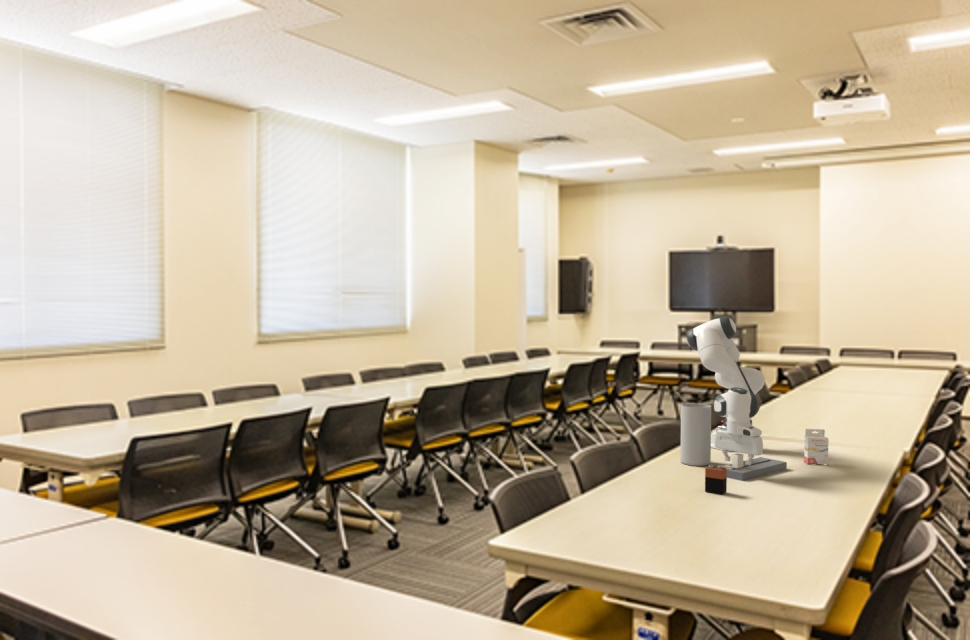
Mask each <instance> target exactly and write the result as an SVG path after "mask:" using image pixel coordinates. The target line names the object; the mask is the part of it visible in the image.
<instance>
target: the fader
mask: <svg viewBox="0 0 970 640" xmlns="http://www.w3.org/2000/svg"><path fill="white" fill-rule="evenodd" d="M731 457H732V459H731V464H732V467H734V468H735V469H739V468H740V467H743V461H744V453H740V452H737V453H733V454H732V456H731Z"/></svg>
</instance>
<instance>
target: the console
mask: <svg viewBox="0 0 970 640" xmlns="http://www.w3.org/2000/svg"><path fill="white" fill-rule="evenodd" d="M745 461H746V460H743V467H740V468H739V469H735V468H734V467H732V463H729V464H724V465H722V466H723V468H726V469H727V479H733V480H738V481H741V482H742V481H746V480H750V479H754V478H758V476H759V477H762V476H766V475H770V474H774V473H778V472H781V470H782V471H785V470H784V469H786V470H787V468H788V467H787V466H788V463H787V462H786V461H782V460H777V459H773V458H768V457H767V458H766V457H763V456H760V457H756V458H755V457H754V458H753V459H752V461H751V465H746V464H745V463H746V462H745ZM777 471H778V472H777ZM773 472H774V473H773ZM769 473H770V474H769Z"/></svg>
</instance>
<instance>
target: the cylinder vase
mask: <svg viewBox="0 0 970 640" xmlns="http://www.w3.org/2000/svg"><path fill="white" fill-rule="evenodd" d="M680 405H681V406H680V463H682V464H684V465H687V466H691V467H692V466H693V467H694V466H695V467H704V466H705V467H707V466H709V465H711V463H712V462H711V461H712V460H711V458H712V457H711V455H712V453H711V449H712V447H711V435H712V405H710V404H706V403H689V402H688V403H682V404H680Z"/></svg>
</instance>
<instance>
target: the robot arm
mask: <svg viewBox="0 0 970 640" xmlns="http://www.w3.org/2000/svg"><path fill="white" fill-rule="evenodd" d="M736 334H737V326H736V324H735V322H734V320H733V319H732V318H731V317H730V316H727V315H726V316H724V315H723V316H720V317H719V318H715V319H711V320H707V321H705V322H704V323H702V324H700V325H697V326H696V327H692V328H691V329H689V330H688V331H687V332H686V342H687V345H688V347H689V348H690V349H692V350H693V351H696V352H697V353H698V355H699V359H700V362H701V364H702V365H703V367H705V369H707V370H709V371H711V372H714V373H715V374H714V380H715V383H716V384H717V385H718V386H720V387H723V388H725V389H728V390H727V392H725V393H721V394H717V395H716V396H715V398H714V400H713V403H712V405H713V411H714V413H715V414H716V415H717V416H719V417H722V418H724V419H721V423H723V425H718V426H717V427H716V428H715V431H714V432H711V449H715V450H720V451H722V454H723V456H724V461H727V462H730V461H731V456H730V455H729V452H735V453H739V454H744V455H745V454H746V455H747V457H748V459H747V460H744V461H745V462H746V463H745V464H746V465H751V461H752V459H755V456H756V457H758V456H761V455H762V454H763V453H764V443H763V442H764V441H763V437H761V436H762V433H763V431H762V430H761V429H760V428H758V427H756V426H755V425H753V420H752V418H753V417H755V416H756V415H757V414H758V412H759V411H760V408H761V407H760V406H761V404H760V401H759V399H758V397H757V393H758V392H760V390H762V389H763V387H764V386H765V383H766V382H765V381H766V378H765V374H764V373H763V372H762V371H761V370H758V369H756V368H752V367H745V366H740V364H739V363H738V361H739V359H740V356H741V353H740V351H739V349H738V347H737V345H736V343H735V342H734V340H733V338H734V337H735V336H736Z"/></svg>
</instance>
